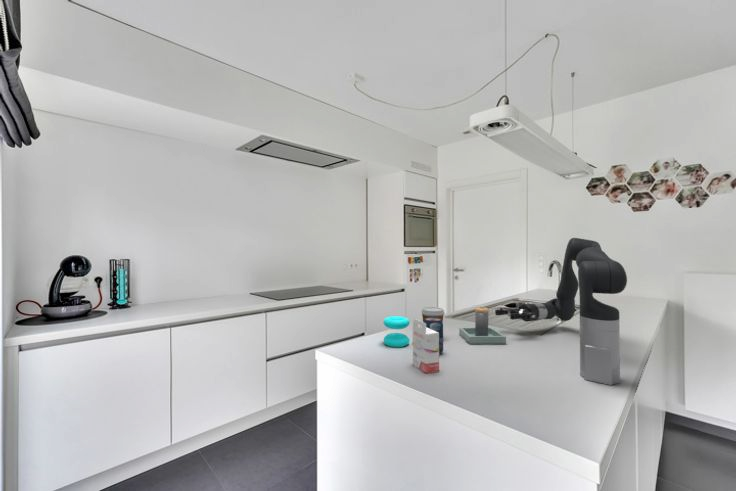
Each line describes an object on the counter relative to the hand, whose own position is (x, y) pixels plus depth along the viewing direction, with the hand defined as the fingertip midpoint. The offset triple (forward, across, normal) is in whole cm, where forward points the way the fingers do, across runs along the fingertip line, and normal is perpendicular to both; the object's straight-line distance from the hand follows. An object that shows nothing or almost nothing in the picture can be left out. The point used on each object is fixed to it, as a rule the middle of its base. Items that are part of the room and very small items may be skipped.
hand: (503, 314), depth 133 cm
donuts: (+46, -6, +9) cm, 47 cm away
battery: (+11, 0, +8) cm, 14 cm away
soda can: (+38, +7, +9) cm, 40 cm away
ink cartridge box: (+48, +19, +9) cm, 52 cm away
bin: (+11, 0, +9) cm, 14 cm away
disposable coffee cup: (+29, -8, +9) cm, 31 cm away
